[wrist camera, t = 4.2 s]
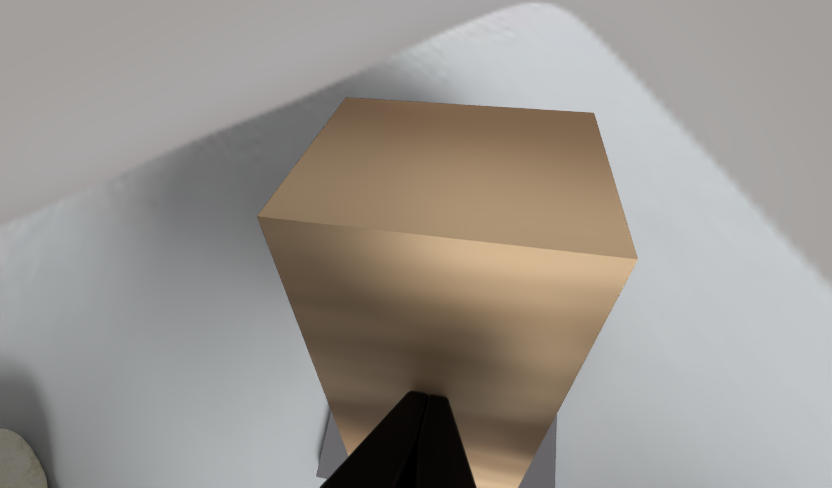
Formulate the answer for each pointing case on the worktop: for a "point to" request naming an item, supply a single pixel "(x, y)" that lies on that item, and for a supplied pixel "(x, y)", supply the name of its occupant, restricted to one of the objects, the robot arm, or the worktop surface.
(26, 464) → the bread roll
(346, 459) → the robot arm
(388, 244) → the oak block
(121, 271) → the worktop surface
